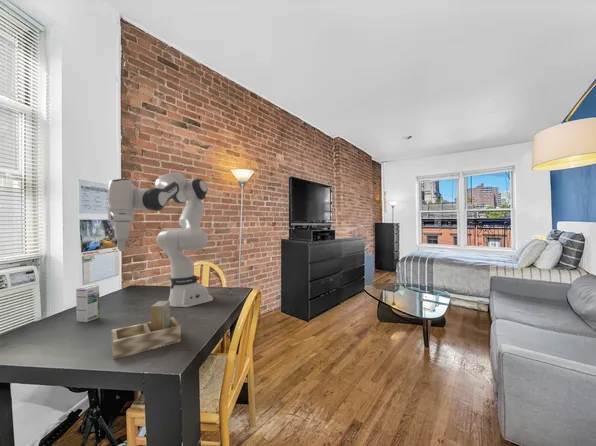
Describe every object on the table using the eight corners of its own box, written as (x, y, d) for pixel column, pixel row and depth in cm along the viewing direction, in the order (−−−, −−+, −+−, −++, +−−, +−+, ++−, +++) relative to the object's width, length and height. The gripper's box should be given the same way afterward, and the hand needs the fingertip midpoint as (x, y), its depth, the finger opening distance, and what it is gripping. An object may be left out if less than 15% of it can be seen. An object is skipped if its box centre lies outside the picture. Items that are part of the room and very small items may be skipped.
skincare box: (158, 333, 96) (158, 300, 96) (170, 332, 96) (170, 300, 96) (150, 341, 89) (150, 306, 90) (163, 340, 90) (163, 305, 90)
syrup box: (86, 322, 110) (87, 288, 110) (75, 321, 111) (75, 287, 111) (99, 317, 115) (99, 285, 115) (89, 316, 117) (89, 284, 117)
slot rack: (173, 331, 101) (173, 317, 101) (180, 341, 92) (180, 326, 92) (111, 345, 89) (111, 329, 89) (113, 359, 80) (113, 341, 80)
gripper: (110, 217, 114) (110, 248, 114) (112, 216, 97) (112, 252, 97) (127, 217, 117) (127, 247, 117) (132, 216, 101) (132, 251, 101)
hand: (121, 250), depth 107 cm, fingers open, 8 cm apart
